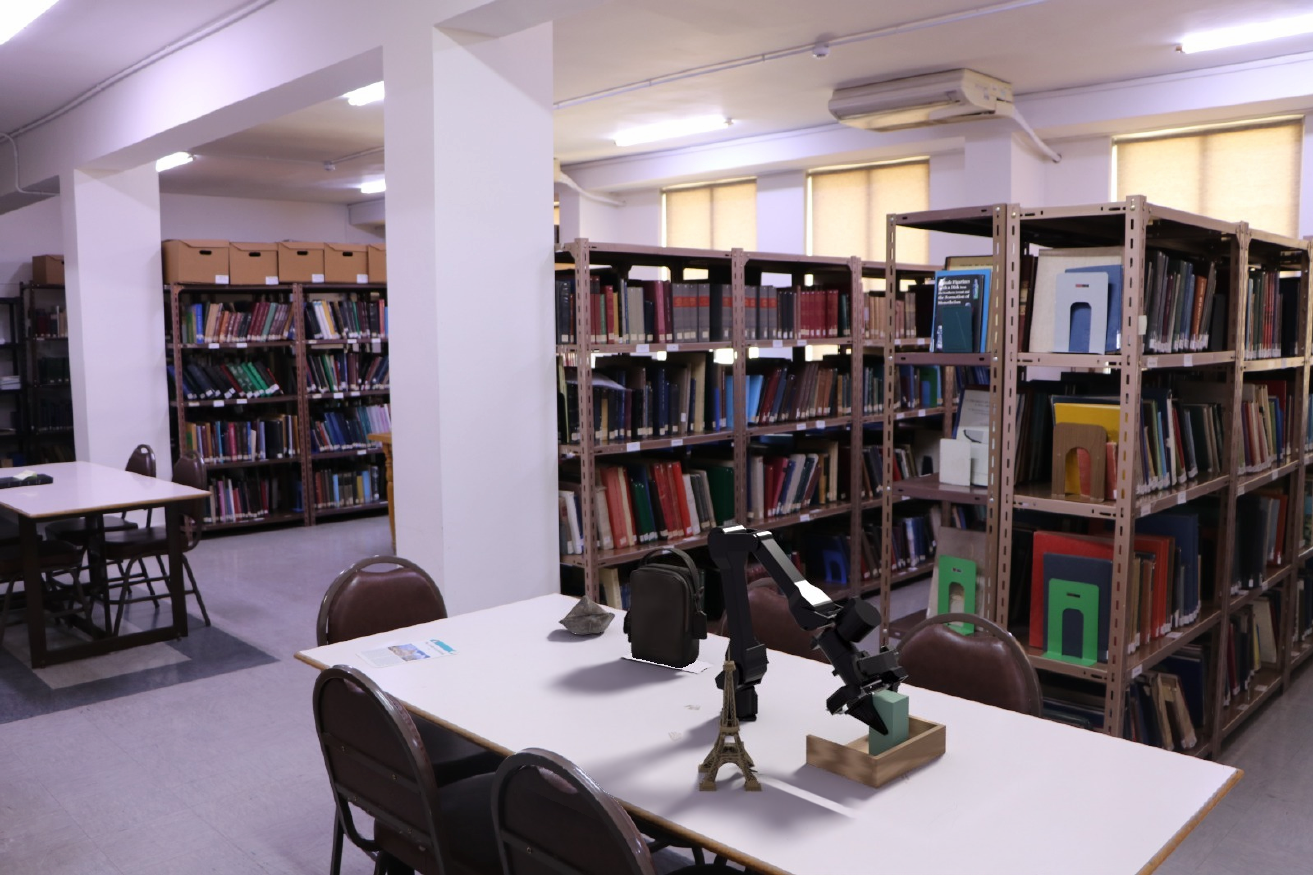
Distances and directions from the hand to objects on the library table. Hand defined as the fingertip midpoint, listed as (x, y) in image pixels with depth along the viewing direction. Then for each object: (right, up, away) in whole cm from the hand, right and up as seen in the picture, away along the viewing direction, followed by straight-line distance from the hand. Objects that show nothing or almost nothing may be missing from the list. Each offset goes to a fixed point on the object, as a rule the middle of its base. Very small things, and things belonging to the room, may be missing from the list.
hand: (895, 730), depth 178 cm
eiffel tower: (-30, -8, -2) cm, 31 cm away
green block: (-1, -6, +2) cm, 6 cm away
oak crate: (-3, -7, +3) cm, 8 cm away
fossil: (-61, 0, +92) cm, 110 cm away
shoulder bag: (-40, -2, +65) cm, 76 cm away
